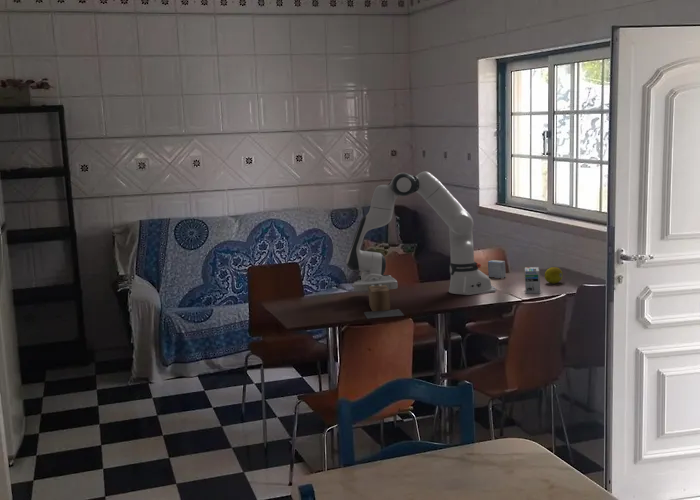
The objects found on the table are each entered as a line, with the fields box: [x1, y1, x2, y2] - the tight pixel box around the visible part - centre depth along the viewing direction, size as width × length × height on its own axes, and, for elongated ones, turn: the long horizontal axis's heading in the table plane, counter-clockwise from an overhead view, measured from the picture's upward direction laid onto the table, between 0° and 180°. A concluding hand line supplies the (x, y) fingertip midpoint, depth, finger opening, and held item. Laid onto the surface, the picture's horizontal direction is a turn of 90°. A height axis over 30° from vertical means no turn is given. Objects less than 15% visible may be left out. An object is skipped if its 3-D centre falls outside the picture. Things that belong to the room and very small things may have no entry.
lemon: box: [544, 266, 564, 285], centre depth 381 cm, size 11×8×8 cm
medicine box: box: [487, 259, 507, 279], centre depth 403 cm, size 8×4×9 cm, turn 47°
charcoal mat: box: [363, 308, 405, 320], centre depth 338 cm, size 16×12×1 cm
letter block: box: [368, 285, 391, 312], centre depth 348 cm, size 8×9×9 cm
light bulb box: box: [524, 266, 541, 295], centre depth 365 cm, size 11×7×11 cm, turn 169°
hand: (377, 288), depth 351 cm, fingers closed, pressing on letter block
